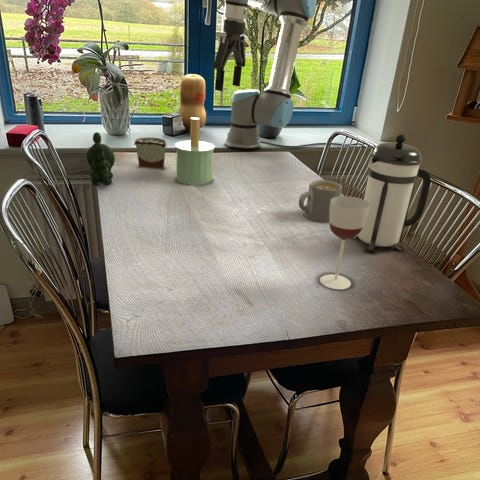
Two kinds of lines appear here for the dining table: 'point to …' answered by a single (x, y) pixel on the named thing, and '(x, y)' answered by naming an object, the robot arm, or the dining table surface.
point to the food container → (151, 152)
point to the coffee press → (392, 193)
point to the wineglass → (345, 230)
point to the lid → (194, 140)
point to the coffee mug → (319, 199)
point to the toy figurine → (100, 161)
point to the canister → (194, 167)
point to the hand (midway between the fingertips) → (227, 88)
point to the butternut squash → (192, 100)
